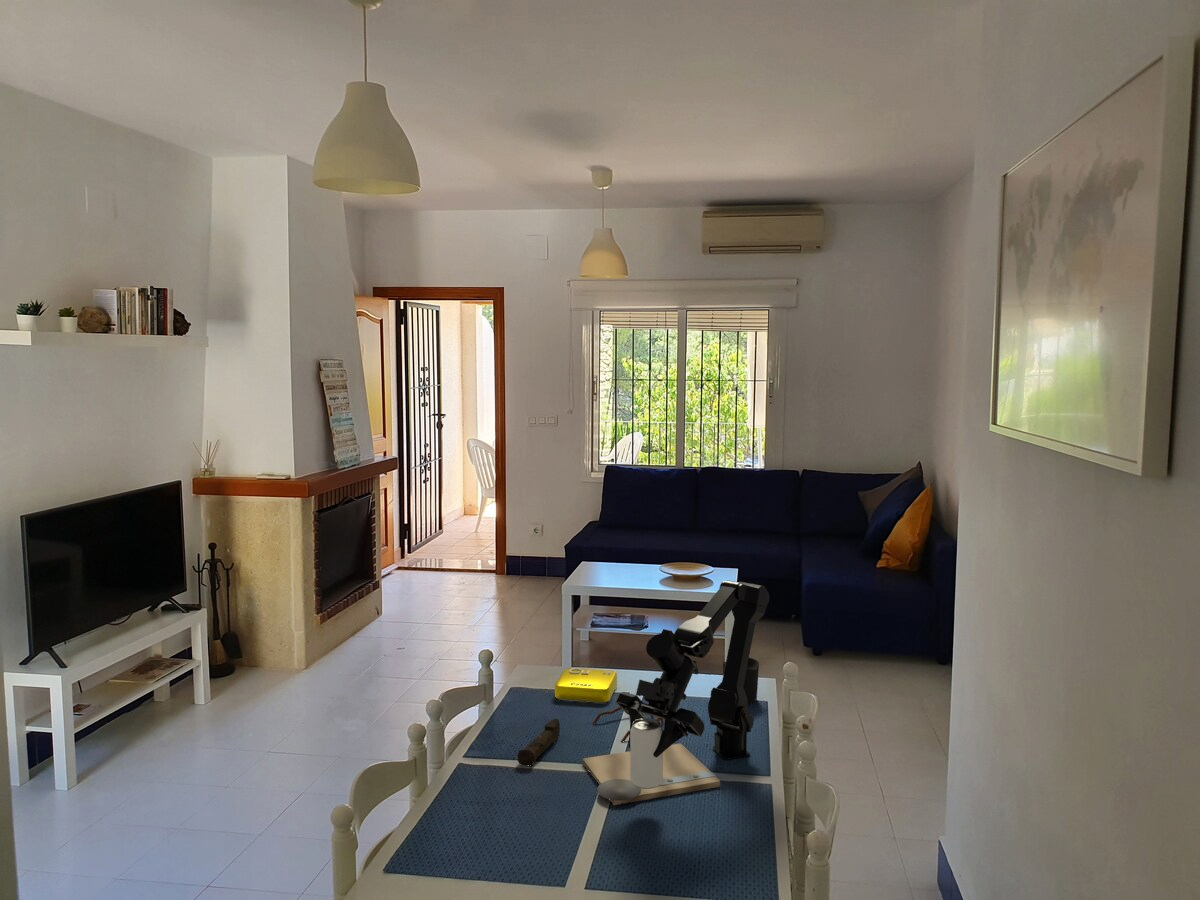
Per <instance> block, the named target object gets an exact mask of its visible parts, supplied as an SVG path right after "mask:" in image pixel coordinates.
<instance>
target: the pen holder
mask: <svg viewBox="0 0 1200 900" xmlns="http://www.w3.org/2000/svg"><path fill="white" fill-rule="evenodd" d="M725 664H726V661H722V667H723V668H722V670H723V671H722V673H723V674H724V669H725ZM759 666H760V663H759V661H758V660H756V658H753V657H749V659H748V665H747V670H746V675H745V680H744V685H743V688H744V690H745V693H746V696H747V699H748V703H747V705H749V704H752V703H755V702H756V700H757V698H758V685H759V670H760V669H759V668H760V667H759Z"/></svg>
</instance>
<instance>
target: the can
mask: <svg viewBox="0 0 1200 900" xmlns="http://www.w3.org/2000/svg"><path fill="white" fill-rule="evenodd" d="M632 725H633V726H632V728H631V731H630V748H629V751H630V778H631V782H632V783H633V785H635V786H636V787H639V788H643V789H651V788H655V787H658V786H659V785H660V784H661V783H662V781H663V753H662V754H660V755H659V756H658V757H657V758H656V757H654V756H653V754H654V752H655V750H656V748H657V746H658V744H659V741H660V738H661V734H662V732H663V730H662V728H661V727H660V725H661V721H657V720H656V719H655V718H654V719H651V718H646V717H644V718H643V719H638V720H635V721H634V722H633V723H632Z"/></svg>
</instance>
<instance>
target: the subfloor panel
mask: <svg viewBox="0 0 1200 900" xmlns="http://www.w3.org/2000/svg"><path fill="white" fill-rule="evenodd" d="M583 764H584V765H585V766H584V765H583ZM582 765H583V766H584V768H585V767H586V768H587V769H588V770H589V771H590V773H591V774H592V775H593V777H594V778H595V779H596V780H597V782H598V783H599V785H598V786H597V789H596V791H597V794H598V795H600V796H601V797H602V798H604V799H607V800H609V799H610V800H609V801H610V803H611V802H612V803H611V804H612V805H613V806H617V805H622V803H623V805H624V804H628V803H629V802H630V803H633V802H634V803H636V802H640V801H646V800H653V799H657V798H662V797H663V798H665V797H669V796H674V795H675V796H676V795H682V794H685V793H691V792H696V791H703V790H708V789H709V790H710V789H712V788H713V789H714V788H719V787H721V780H720V779H719V778H717V776H716V775H715V774H714V773H713V772H712V771H711V770H709V769H708V767H706V766H705V765H704V764H703V763H702V762H701V761H700V760H699V759H698V758H697V757H696V756H695V755H694V754H693V753H692V752H691V751H689V750H688V749H687V748H686V747H685V746H684V745H683V744H682V743H679V742H678V743H673V744H672V745H671V746H669V747H668V748H667V749H666V750H665V751H664V752H663V781H662V783H661V784H660V785H659V786H658V787H655V788H651V789H643V788H639V787H636V786H635V785H633V783H632V782H631V778H630V750H629V751H623V752H618V753H617V752H616V753H609V754H605V755H603V754H602V755H597V756H589V757H585V758H582ZM586 768H585V769H586ZM587 769H586V770H587ZM588 770H587V771H588ZM590 773H589V774H590ZM591 774H590V775H591ZM593 777H592V778H593ZM594 778H593V779H594ZM597 782H596V783H597Z"/></svg>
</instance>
